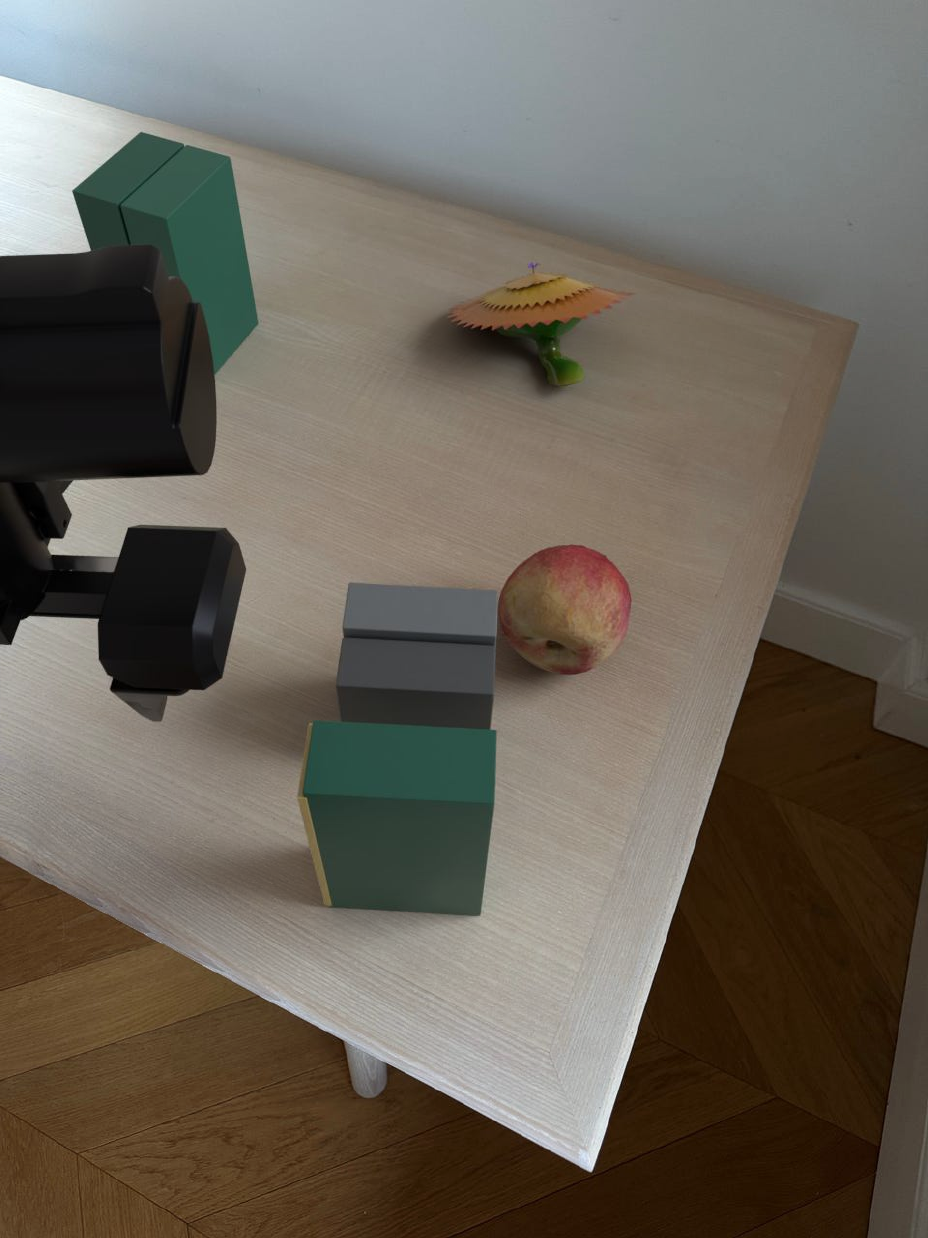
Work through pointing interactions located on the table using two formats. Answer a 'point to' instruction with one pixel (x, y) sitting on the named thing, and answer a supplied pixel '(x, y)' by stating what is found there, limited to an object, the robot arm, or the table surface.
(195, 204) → the green grooved box
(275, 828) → the table surface
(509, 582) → the fruit
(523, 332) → the flower
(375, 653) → the grey grooved block
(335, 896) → the green book
